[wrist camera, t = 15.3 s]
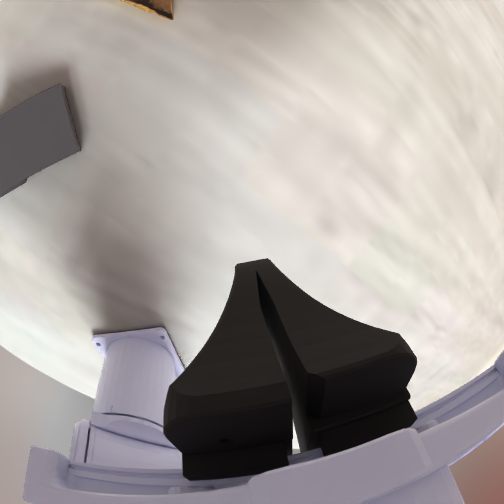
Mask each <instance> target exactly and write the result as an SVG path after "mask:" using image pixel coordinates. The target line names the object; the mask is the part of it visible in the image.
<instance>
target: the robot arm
mask: <svg viewBox="0 0 504 504" xmlns="http://www.w3.org/2000/svg"><path fill="white" fill-rule="evenodd" d="M92 341H93V343H94V344H95V346H96V347H97V349H98V350H99V352H100V353H101V355H102V356H103V358H104V359H105V360H104V364H103V368H102V372H101V376H100V380H99V384H98V389H97V393H96V398H95V403H94V408H93V413H92V417H91V420H90V422H89V421H87V420H85V419H82V420H81V421H79V422H77V423H75V428H74V432H73V437H72V443H71V449H70V455H69V459H68V458H67V457H65V456H64V455H62V454H61V453H59V452H57V451H54V450H51V449H47V448H42V447H38V446H34V445H32V446H31V450H30V455H29V460H28V465H27V471H26V477H25V484H24V492H23V499H24V500H25V501H27V502H29V503H31V504H465V503H464V501H463V498H462V496H461V493H460V491H459V489H458V487H457V484H456V482H455V480H454V478H453V476H452V473H451V471H450V469H449V466H450V465H452V464H453V463H455V462H456V461H458V460H459V459H461V458H462V457H463V456H465V455H466V454H468V453H469V452H470V451H472V450H473V449H474V448H476V447H477V446H478V445H480V444H481V443H482V442H484V441H485V440H486V439H487V438H489V437H490V436H491V435H492V434H494V433H495V432H496V431H497V430H498V429H499V428H500V427H502V426H503V425H504V351H503V352H502V353H501V354H500V355H499V357H498V358H497V360H496V361H495V363H494V365H493V366H491V367H490V368H489V369H487V370H486V371H484V372H483V373H481V374H480V375H478V376H477V377H475V378H474V379H472V380H471V381H469V382H468V383H466V384H464V385H463V386H461V387H460V388H458V389H456V390H455V391H453V392H451V393H450V394H448V395H446V396H444V397H442V398H441V399H439V400H437V401H435V402H433V403H431V404H430V405H428V406H426V407H424V408H422V409H420V410H418V411H416V412H414V410H413V408H412V406H411V405H410V403H409V401H408V400H409V399H410V393H409V392H408V390H407V388H406V387H407V385H408V383H409V381H410V379H411V377H412V375H413V373H414V371H415V368H416V365H417V357H416V356H415V354H414V353H413V351H412V350H411V348H410V347H409V345H408V344H407V343H406V341H405V340H404V339H403V338H402V337H401V335H400V334H399V333H395V332H391V331H387V330H383V329H380V328H376V327H373V326H370V325H367V324H364V323H361V322H358V321H356V320H354V319H351V318H349V317H346V316H344V315H342V314H340V313H338V312H336V311H334V310H332V309H330V308H328V307H327V306H325V305H323V304H322V303H320V302H318V301H317V300H315V299H314V298H312V297H311V296H310V295H308V294H307V293H305V292H304V291H303V290H302V289H300V288H299V287H298V286H297V285H295V284H294V283H293V282H292V281H291V280H290V279H288V278H287V277H286V276H285V275H284V274H283V273H282V272H281V271H280V270H279V269H278V268H277V267H276V266H275V265H274V264H273V263H272V262H271V260H269V259H268V258H266V259H261V260H255V261H250V262H245V263H239V264H237V265H236V266H235V276H234V281H233V285H232V288H231V292H230V295H229V298H228V301H227V303H226V306H225V308H224V311H223V313H222V315H221V317H220V319H219V321H218V323H217V325H216V327H215V329H214V331H213V332H212V334H211V336H210V337H209V339H208V341H207V342H206V344H205V345H204V347H203V348H202V349H201V351H200V352H199V353H198V354H197V356H196V357H195V358H194V360H193V361H192V362H191V363H190V365H189V366H188V367H187V368H186V369H184V367H183V365H182V363H181V361H180V359H179V357H178V355H177V353H176V351H175V349H174V347H173V344H172V342H171V340H170V338H169V336H168V334H167V331H166V330H165V329H164V328H162V327H158V328H151V329H143V330H135V331H127V332H118V333H109V334H99V335H93V336H92ZM293 422H294V426H295V430H296V434H297V439H298V443H299V447H300V451H301V453H298V454H294V455H292V439H293Z"/></svg>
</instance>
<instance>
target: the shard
mask: <svg viewBox="0 0 504 504" xmlns="http://www.w3.org/2000/svg"><path fill="white" fill-rule="evenodd" d="M121 1H124V2H127V3H129V4H131V5H134V6H136V7H138V8H140V9H142V10H145V11H148V12H151V13H156V14H158V15H160V16H162V17H164V18H166V19H170V20H173V10H172V2H171V0H121Z"/></svg>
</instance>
